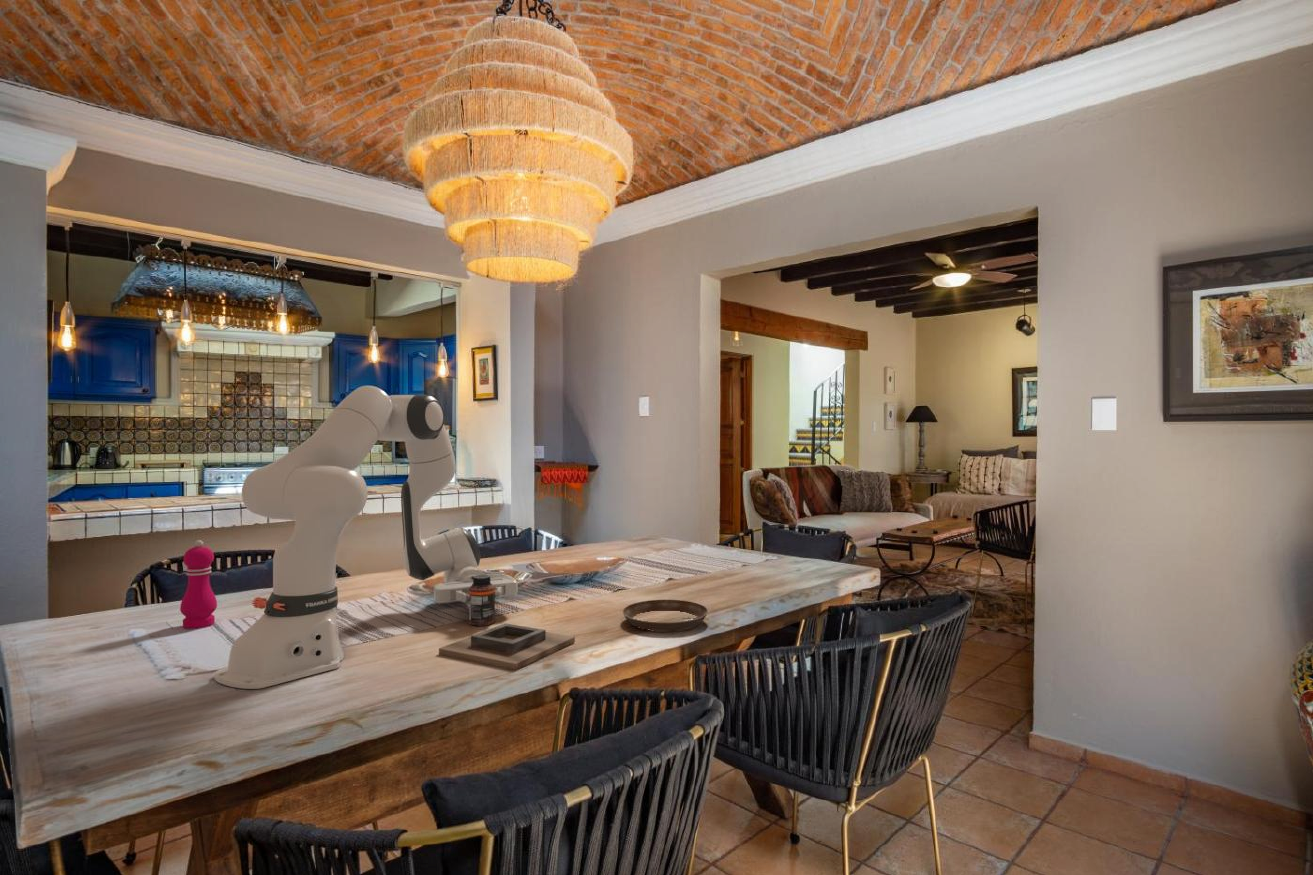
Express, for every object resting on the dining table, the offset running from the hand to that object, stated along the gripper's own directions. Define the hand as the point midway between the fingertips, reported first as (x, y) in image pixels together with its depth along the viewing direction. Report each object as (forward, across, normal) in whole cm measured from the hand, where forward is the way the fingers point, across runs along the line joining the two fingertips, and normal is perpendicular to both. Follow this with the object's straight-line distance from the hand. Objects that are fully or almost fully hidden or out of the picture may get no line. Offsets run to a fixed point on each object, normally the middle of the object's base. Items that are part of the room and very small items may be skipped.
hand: (482, 596), depth 165 cm
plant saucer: (+18, +40, +7) cm, 44 cm away
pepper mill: (-29, -60, +7) cm, 67 cm away
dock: (+21, +1, +6) cm, 22 cm away
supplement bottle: (-1, 0, +7) cm, 7 cm away
